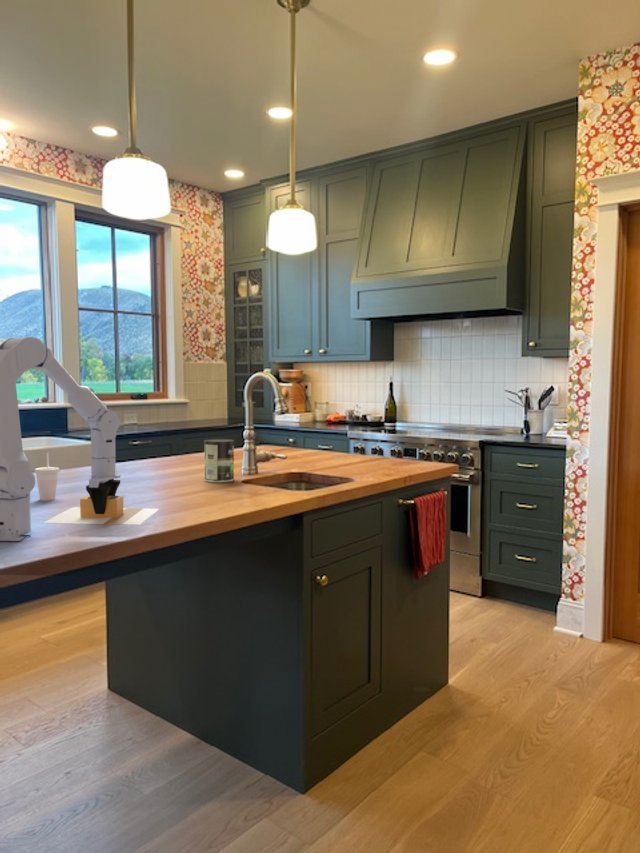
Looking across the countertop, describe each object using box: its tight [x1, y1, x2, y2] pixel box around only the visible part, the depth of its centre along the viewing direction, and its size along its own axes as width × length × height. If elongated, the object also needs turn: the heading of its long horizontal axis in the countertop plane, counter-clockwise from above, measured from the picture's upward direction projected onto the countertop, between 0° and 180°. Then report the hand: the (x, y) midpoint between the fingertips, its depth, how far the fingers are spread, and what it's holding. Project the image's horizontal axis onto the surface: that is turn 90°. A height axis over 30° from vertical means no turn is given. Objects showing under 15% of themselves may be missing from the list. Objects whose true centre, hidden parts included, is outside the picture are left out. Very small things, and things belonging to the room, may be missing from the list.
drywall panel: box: [42, 506, 160, 526], centre depth 157 cm, size 18×23×1 cm
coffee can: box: [203, 438, 235, 484], centre depth 218 cm, size 10×10×14 cm
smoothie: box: [34, 452, 60, 502], centre depth 175 cm, size 6×6×14 cm
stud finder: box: [79, 494, 124, 518], centre depth 157 cm, size 5×9×5 cm, turn 90°
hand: (103, 511), depth 157 cm, fingers closed on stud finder, 5 cm apart
